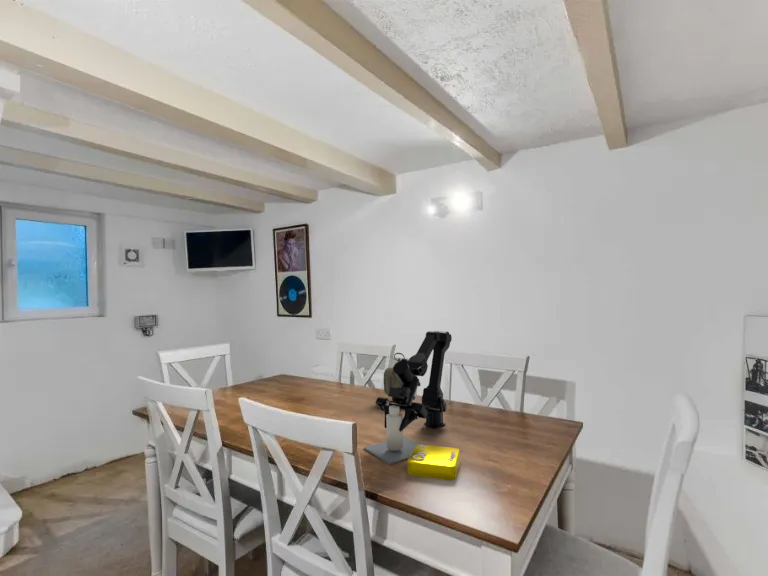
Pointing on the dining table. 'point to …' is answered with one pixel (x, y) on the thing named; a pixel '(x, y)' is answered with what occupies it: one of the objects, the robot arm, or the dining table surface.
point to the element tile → (434, 462)
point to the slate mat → (390, 455)
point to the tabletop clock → (391, 378)
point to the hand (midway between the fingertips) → (392, 429)
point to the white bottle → (394, 428)
